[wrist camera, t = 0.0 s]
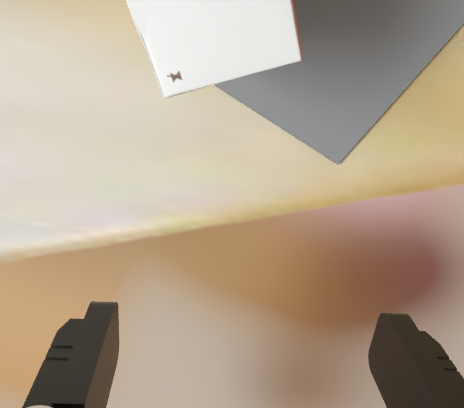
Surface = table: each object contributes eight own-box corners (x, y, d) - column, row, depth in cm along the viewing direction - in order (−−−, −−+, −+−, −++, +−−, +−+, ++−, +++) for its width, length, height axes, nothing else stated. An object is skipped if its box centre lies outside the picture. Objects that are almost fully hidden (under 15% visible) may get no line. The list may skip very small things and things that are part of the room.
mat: (404, -207, 23) (406, -208, 23) (535, -61, 27) (538, -61, 27) (214, 84, 31) (214, 85, 31) (336, 162, 35) (337, 164, 35)
